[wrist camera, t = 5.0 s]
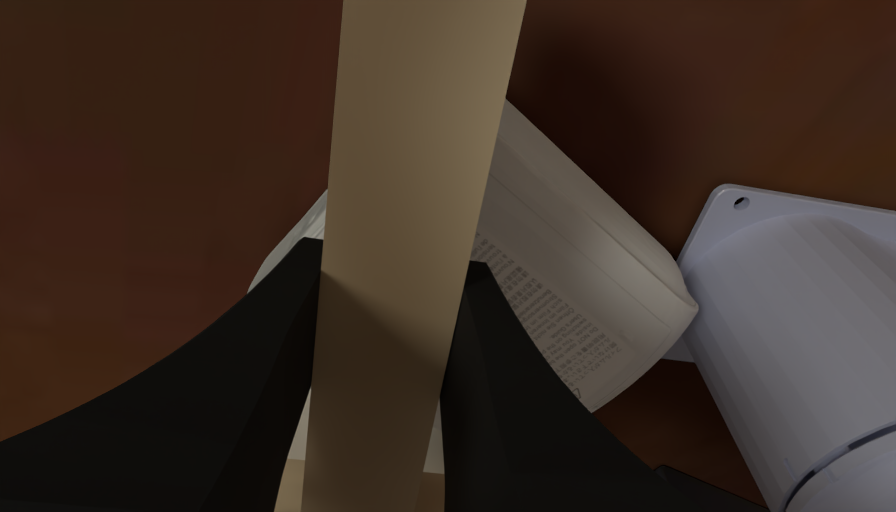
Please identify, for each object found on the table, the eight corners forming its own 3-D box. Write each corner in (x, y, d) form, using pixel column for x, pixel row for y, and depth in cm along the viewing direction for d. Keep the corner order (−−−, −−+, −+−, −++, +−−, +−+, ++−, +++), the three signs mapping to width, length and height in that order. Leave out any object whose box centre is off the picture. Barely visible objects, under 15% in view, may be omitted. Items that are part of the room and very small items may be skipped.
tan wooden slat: (596, -64, 11) (675, -76, 8) (452, 488, 18) (459, 616, 15) (284, -131, 10) (210, -177, 7) (262, 469, 17) (220, 599, 14)
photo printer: (264, 254, 21) (505, 410, 25) (224, 329, 17) (515, 497, 21) (449, 31, 17) (699, 263, 21) (449, 67, 13) (752, 339, 17)
